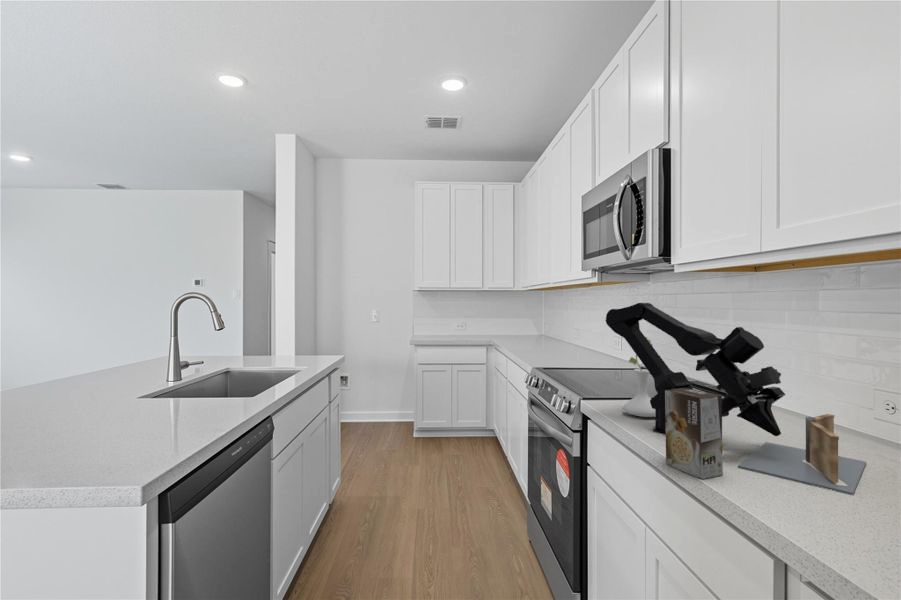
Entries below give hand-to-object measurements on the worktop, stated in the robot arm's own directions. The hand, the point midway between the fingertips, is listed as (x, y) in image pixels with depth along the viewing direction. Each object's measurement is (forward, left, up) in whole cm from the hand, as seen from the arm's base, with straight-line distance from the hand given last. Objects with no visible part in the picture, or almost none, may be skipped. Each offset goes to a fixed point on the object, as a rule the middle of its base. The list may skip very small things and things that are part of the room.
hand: (778, 435), depth 96 cm
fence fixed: (+6, +8, -6) cm, 11 cm away
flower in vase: (-38, +18, -6) cm, 43 cm away
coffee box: (-11, -18, -6) cm, 22 cm away
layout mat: (+4, +2, -6) cm, 7 cm away
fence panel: (+8, -2, -5) cm, 9 cm away
